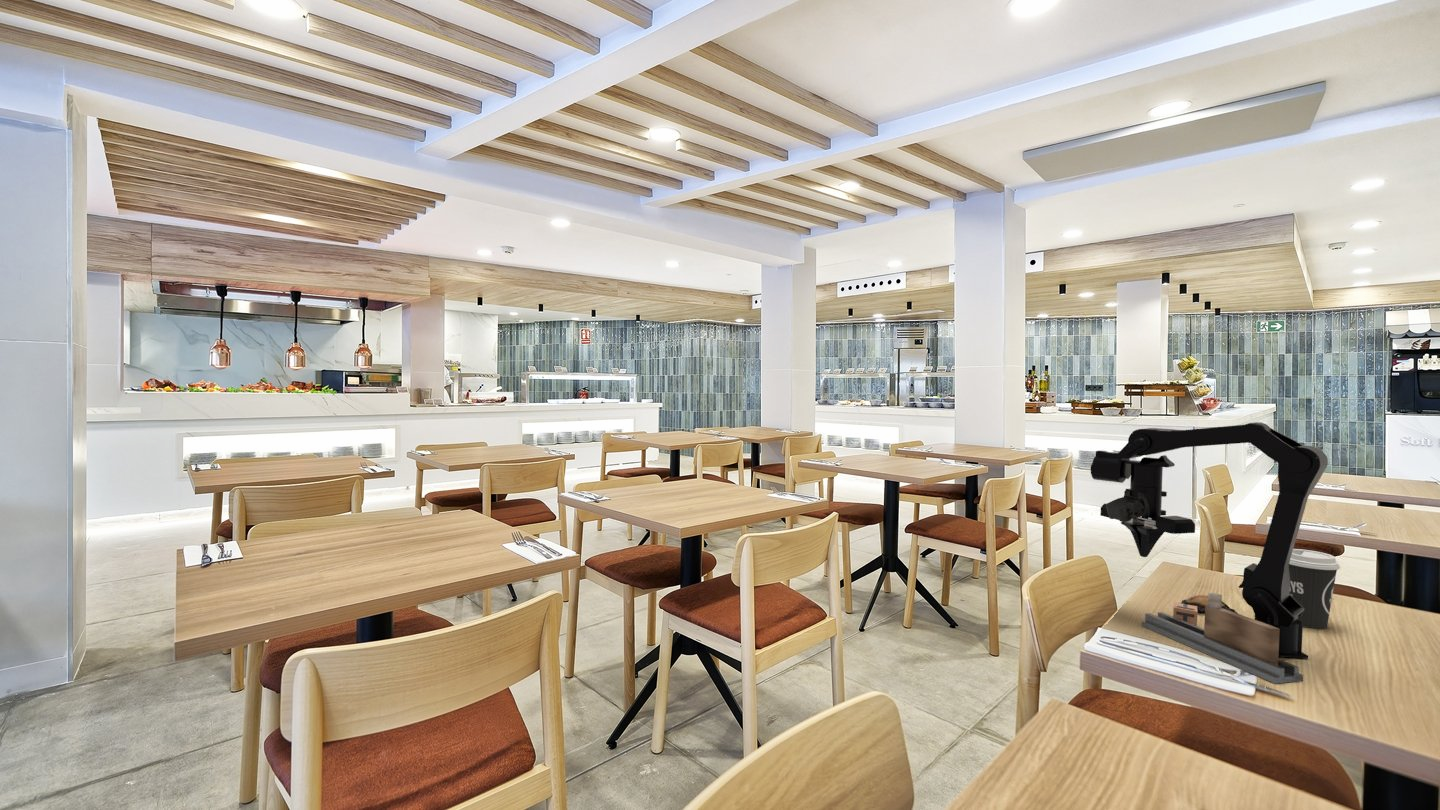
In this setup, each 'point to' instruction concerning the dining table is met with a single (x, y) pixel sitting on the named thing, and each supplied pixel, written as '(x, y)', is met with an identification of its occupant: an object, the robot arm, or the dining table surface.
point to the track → (1221, 649)
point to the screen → (1240, 631)
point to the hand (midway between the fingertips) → (1143, 556)
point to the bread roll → (1203, 604)
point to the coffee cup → (1313, 585)
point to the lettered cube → (1185, 613)
